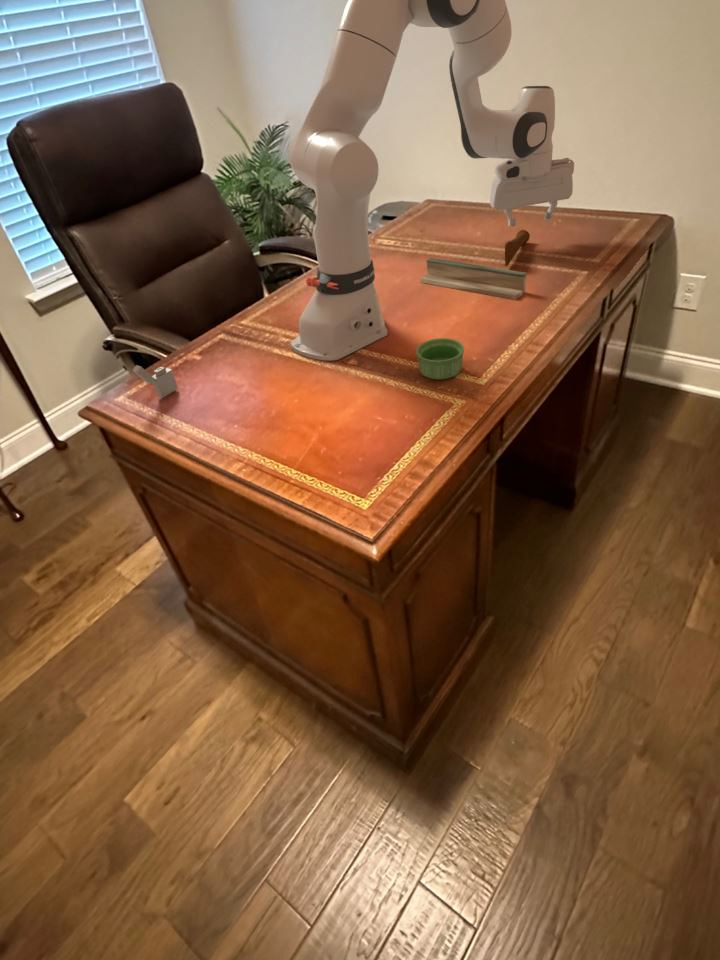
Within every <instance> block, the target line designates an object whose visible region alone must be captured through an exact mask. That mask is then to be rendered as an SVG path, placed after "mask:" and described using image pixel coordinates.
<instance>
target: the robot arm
mask: <svg viewBox="0 0 720 960" xmlns="http://www.w3.org/2000/svg"><path fill="white" fill-rule="evenodd" d="M409 24H411V25H415V26H417V27H421V28H443V29H448V33H449V35H450V37H451V42H452V44H453V50H452V52H451V54H450V58H449V76H450V83H451V88H452V91H453V97H454V101H455V105H456V110H457V114H458V118H459V119H458V120H459V123H460V137H461V138H460V139H461V144H462V147H463V149H464V151H465V153H466V154H467V156H469V157H470V158H472V159H475V160H476V159H487V158H489V159H502V160H503V161H502V162H500V163H498V164H496V165H495V167H494V173H495V175H496V176H495V177H494V178H493V180H492V182H491V186H490V195H489V199H490V200H489V204H490V207H491V208H492V209H493V210H494V211H495V212H497V211H503V212H504V214H505V216H506V217H507V224H508V227H515V226H516V225H517V223H516V221H517V219H516V217H514V216H512V215H511V214H512V212H513V209H516V208H522V207H528V206H534V205H540V204H546V203H548V205H549V207H548V209H547V210H546V211H544V212H543V219H544V220H545V221H550V220H552V218H553V213H554V211H555V209H556V208H557V206H558V202H559V201H564V200H569V199H570V198H571V196H572V195H573V191H574V190H573V185H574V183H573V174H574V172H575V162H574V160H573V159H571V158H569V157H563V158H561V159H553V149H554V145H553V141H552V140H553V133H554V129H555V122H556V98H555V91H554V88H552V87H551V86H549V85H527V86H523V87H522V88H520V90H519V93H518V98H517V99H518V100H517V103H516V104H515V105H514V106H513V107H512V108H511V109H503V110H502V109H491V108H489V107H486V106H485V105H484V104H483V100H482V94H481V90H480V89H481V88H480V85H479V78H480V77H481V76H483V75H485V74H487V73H489V72H490V71H491V70H492V69H494V68H495V67H496V66H497V65H498V63H500V61H501V60H502V59H503V58H504V56H505V55H506V53H507V50H508V48H509V46H510V43H511V40H512V23H511V17H510V13H509V10H508V7H507V2H506V0H347V1H346V4H345V6H344V9H343V12H342V15H341V17H340V20H339V25H338V28H337V30H336V31H337V32H336V34H335V38H334V41H333V45H332V48H331V51H330V56H329V59H328V62H327V65H326V69H325V71H324V76H323V79H322V82H321V84H320V86H319V89H318V92H317V93H316V95H315V98H314V100H313V102H312V104H311V106H310V108H309V111H308V113H307V115H306V117H305V119H304V121H303V124H302V126H301V128H300V130H298V132H297V133H296V134H295V135H294V137H293V138H292V140H291V142H290V144H289V149H288V160H289V161H288V162H289V165H290V167H291V169H292V171H293V173H294V175H295V176H296V177H297V178H298V180H299V181H300V182H301V183H302V184H303V185H304V186H306V187H308V188H310V189H312V190H313V191H314V192H315V193H314V194H315V196H316V219H315V224H314V226H313V228H312V229H313V230H312V234H313V240H314V247H315V251H316V252H315V253H316V257H317V263H318V264H317V265H318V267H317V272H316V276H311V275H309V276H306V279H305V285H306V286H308V287H312V288H315V291H314V292H313V295H312V296H311V298H310V299H309V302H308V303H307V305H306V306H305V309H304V310H303V312H302V314H301V315H300V317H299V320H298V329H299V330H298V331H299V335H298V336H296V337H295V338H294V339H293V340H291V342H290V348H291V349H292V350H293V352H295V353H297V354H298V355H300V356H303V357H306V358H309V359H314V360H318V361H338V360H340V359H342V358H344V357H346V356H348V355H350V354H352V353H354V352H356V351H358V350H361V349H363V348H364V347H366V346H368V345H371V344H372V343H374V342H376V341H378V340H381V339H382V338H384V337H386V336H388V334H389V333H388V328H387V327H386V322H385V319H384V317H383V313H382V307H381V303H380V299H379V295H378V292H377V289H376V286H375V284H374V283H375V282H374V280H375V277H376V276H375V275H376V274H375V271H376V270H375V267H374V261H373V260H372V258H371V250H370V249H371V248H370V239H369V230H368V229H369V228H368V225H369V224H368V220H369V219H368V217H369V205H370V199H371V192H372V191H373V190H374V188H375V187H376V184H377V182H378V178H379V170H380V169H379V162H378V158H377V155H376V153H375V152H374V151H373V150H372V148H370V147H371V146H369V145H368V144H367V143H366V142H364V141H363V140H362V139H361V138H360V136H361V134H362V132H363V131H364V129H365V127H366V125H367V124H368V122H369V121H370V119H371V118H372V117H373V116H374V114H376V113H377V112H378V110H379V109H380V107H381V105H382V103H383V99H384V96H385V94H386V90H387V87H388V84H389V81H390V78H391V75H392V72H393V69H394V66H395V63H396V60H397V57H398V53H399V51H400V46H401V43H402V42H401V41H402V38H403V35H404V32H405V30H406V29H407V27H408V25H409Z"/></svg>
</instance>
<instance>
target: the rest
mask: <svg viewBox="0 0 720 960" xmlns="http://www.w3.org/2000/svg"><path fill="white" fill-rule="evenodd" d="M426 273H427V274H425V275H423V276H422V277H421V278H420V283H423V284H428V285H433V286H439V287H445V288H449V289H456V290H461V291H465V292H471V293H477V294H483V295H487V296H493V297H498V298H499V297H500V298H506V299H508V300H509V299H510V300H514V301H516V300H517V299H518V298H520V297H521V296H522V295H523V294H525V293H526V284H527V272H522V271H517V270H511V269H504V268H500V267H499V268H498V267H491V266H485V265H479V264H472V263H465V262H460V261H454V260H453V261H452V260H447V259H446V260H445V259H439V258H433V257H429V258H427V259H426Z"/></svg>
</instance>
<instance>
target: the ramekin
mask: <svg viewBox="0 0 720 960" xmlns="http://www.w3.org/2000/svg"><path fill="white" fill-rule="evenodd" d="M415 353H416V357H417V360H418V366H419V367H418V368H419V371H420V373H421V374H422V376H424V377H425V378H428V379H432V380H446V379H451V378H453V377H455V376H457V375H458V374H459V373H460V372H461V371H462V368H463V359H464V354H465V346H464V344H463V343H462V342H460V341H459V340H456V339H453V338H448V337H447V338H446V337H439V338H434V339H433V338H432V339H429V340H426V341H424V342H422V343H420V344H419V345H418V346H417V348H416V351H415Z"/></svg>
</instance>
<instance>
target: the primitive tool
mask: <svg viewBox="0 0 720 960" xmlns="http://www.w3.org/2000/svg"><path fill="white" fill-rule="evenodd" d="M530 236H531V235H530V233H529V232H528V231H527V230H526V229H521V230H519V231H518V232H517V233H516V235H515V237H514V238H513V239H512V240H508V241H507V242H505V243H504V267H508V265H510V263H511V261H512V260H513V258H514V256H515V255H517V253H518V252H519V250H520V248H521V247H522V245H524V244H526V243H528V241H530Z"/></svg>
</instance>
